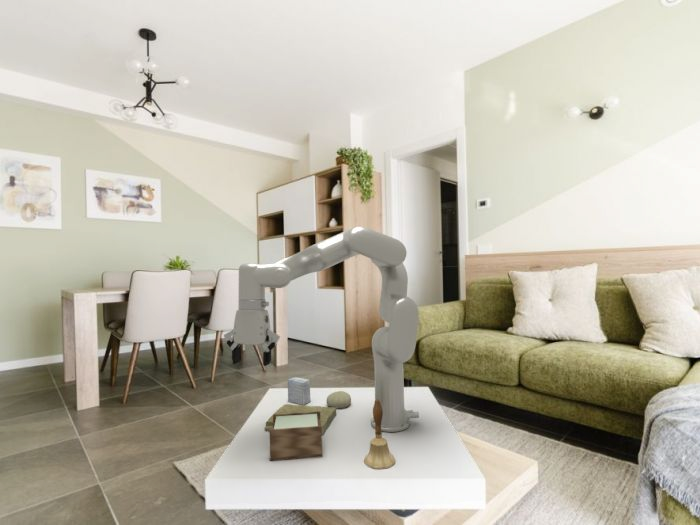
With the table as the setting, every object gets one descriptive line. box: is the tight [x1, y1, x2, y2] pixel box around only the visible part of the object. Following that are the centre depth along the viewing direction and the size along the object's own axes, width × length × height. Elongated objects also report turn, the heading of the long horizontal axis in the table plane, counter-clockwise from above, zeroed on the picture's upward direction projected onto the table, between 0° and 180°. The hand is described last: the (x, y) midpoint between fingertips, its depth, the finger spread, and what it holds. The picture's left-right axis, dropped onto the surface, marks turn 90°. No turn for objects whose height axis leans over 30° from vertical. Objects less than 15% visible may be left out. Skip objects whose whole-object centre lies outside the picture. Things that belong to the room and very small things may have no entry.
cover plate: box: [274, 414, 318, 429], centre depth 105 cm, size 12×9×2 cm
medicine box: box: [287, 376, 311, 406], centre depth 142 cm, size 8×4×9 cm, turn 58°
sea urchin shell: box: [326, 390, 352, 409], centre depth 138 cm, size 9×8×8 cm
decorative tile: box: [264, 403, 337, 437], centre depth 122 cm, size 19×20×4 cm
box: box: [269, 411, 323, 462], centre depth 104 cm, size 14×11×8 cm
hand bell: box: [363, 399, 396, 470], centre depth 97 cm, size 8×8×16 cm
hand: (251, 363), depth 107 cm, fingers open, 9 cm apart
